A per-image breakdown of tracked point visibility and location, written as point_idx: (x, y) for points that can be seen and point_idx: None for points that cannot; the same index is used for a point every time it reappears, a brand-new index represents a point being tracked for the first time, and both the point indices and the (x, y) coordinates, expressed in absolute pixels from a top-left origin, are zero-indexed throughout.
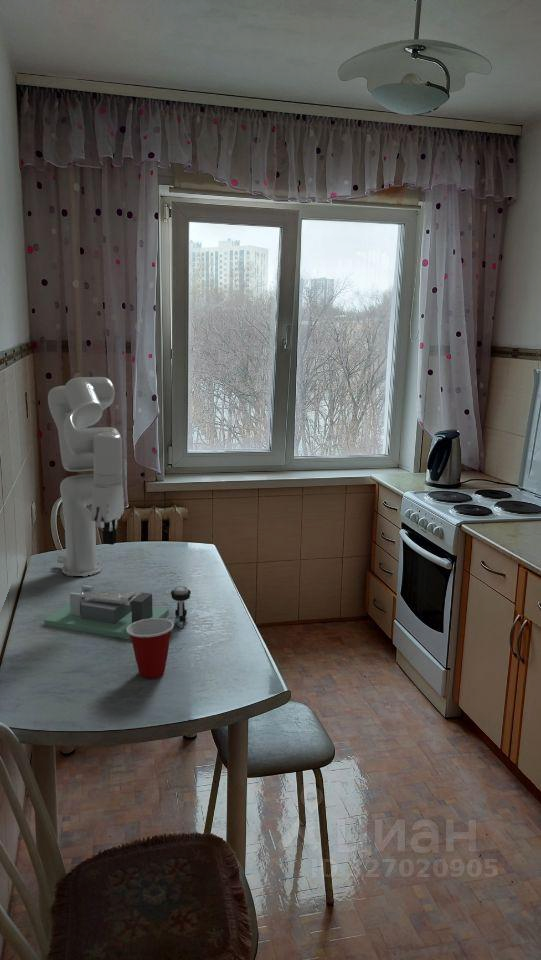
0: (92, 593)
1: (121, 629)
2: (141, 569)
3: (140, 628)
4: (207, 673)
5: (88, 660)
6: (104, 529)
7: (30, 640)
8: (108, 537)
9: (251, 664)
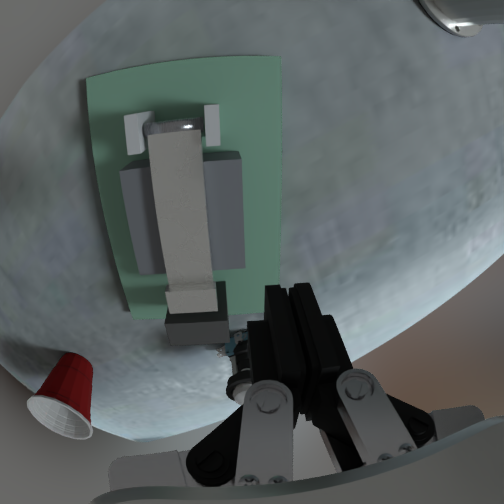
0: (184, 166)
1: (134, 281)
2: (487, 126)
3: (62, 397)
4: (123, 405)
5: (37, 277)
6: (237, 417)
7: (25, 121)
8: (250, 369)
9: (171, 426)
